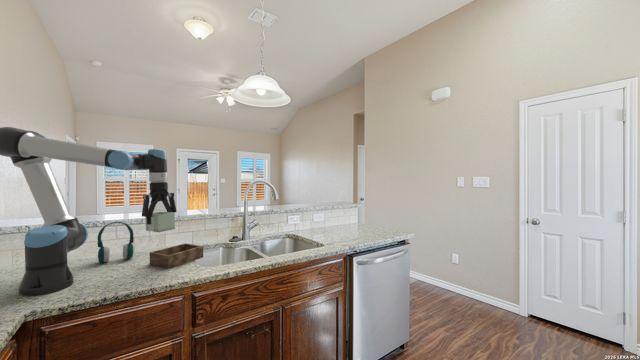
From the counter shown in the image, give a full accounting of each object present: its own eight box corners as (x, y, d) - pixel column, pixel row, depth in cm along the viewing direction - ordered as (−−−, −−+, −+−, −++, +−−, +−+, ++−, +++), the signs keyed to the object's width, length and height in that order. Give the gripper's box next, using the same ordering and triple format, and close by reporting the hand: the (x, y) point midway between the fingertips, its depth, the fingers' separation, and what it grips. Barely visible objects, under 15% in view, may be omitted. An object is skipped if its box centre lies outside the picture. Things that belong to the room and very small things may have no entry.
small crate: (158, 232, 125) (157, 214, 124) (146, 230, 129) (145, 213, 129) (175, 228, 132) (174, 212, 131) (162, 227, 136) (161, 211, 136)
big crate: (168, 268, 128) (168, 256, 128) (149, 264, 135) (149, 252, 134) (203, 257, 146) (203, 246, 146) (185, 253, 153) (185, 243, 152)
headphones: (98, 261, 139) (98, 222, 139) (133, 256, 148) (133, 219, 147) (96, 265, 133) (96, 224, 132) (133, 260, 141) (133, 221, 141)
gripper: (140, 182, 119) (142, 234, 120) (183, 180, 137) (185, 225, 138) (130, 182, 123) (132, 233, 123) (174, 181, 141) (176, 224, 142)
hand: (160, 229), depth 131 cm, fingers closed on small crate, 8 cm apart
